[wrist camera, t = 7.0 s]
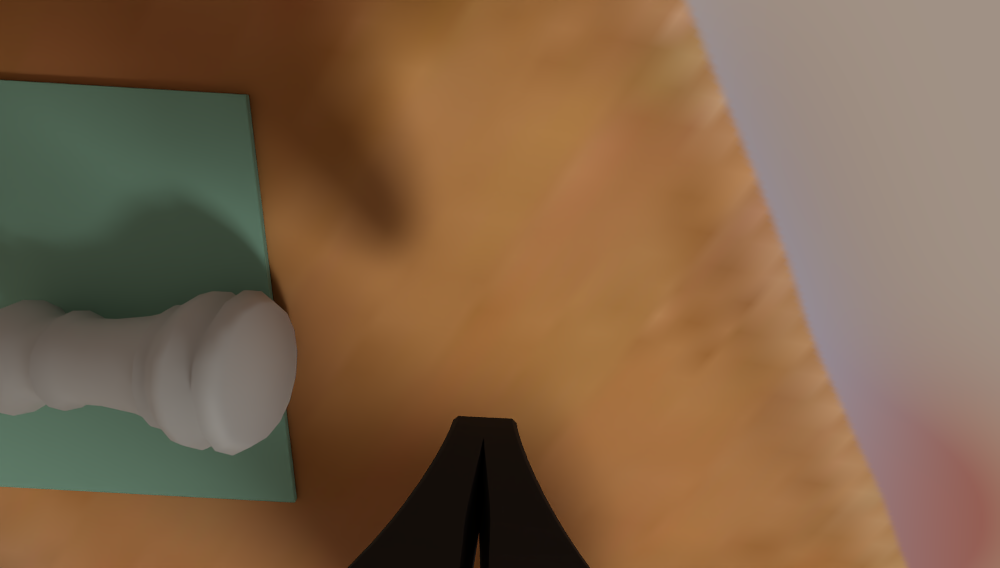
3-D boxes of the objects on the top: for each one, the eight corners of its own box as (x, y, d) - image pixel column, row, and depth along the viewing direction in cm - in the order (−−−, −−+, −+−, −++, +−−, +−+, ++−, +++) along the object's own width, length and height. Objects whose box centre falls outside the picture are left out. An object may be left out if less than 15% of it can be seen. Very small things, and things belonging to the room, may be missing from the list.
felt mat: (296, 498, 20) (294, 502, 19) (-32, 480, 19) (-38, 484, 19) (248, 94, 14) (244, 95, 14) (-208, 66, 14) (-218, 67, 14)
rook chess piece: (218, 490, 13) (-82, 465, 13) (304, 416, 17) (74, 400, 18) (208, 307, 12) (-109, 290, 13) (300, 278, 16) (60, 267, 17)
